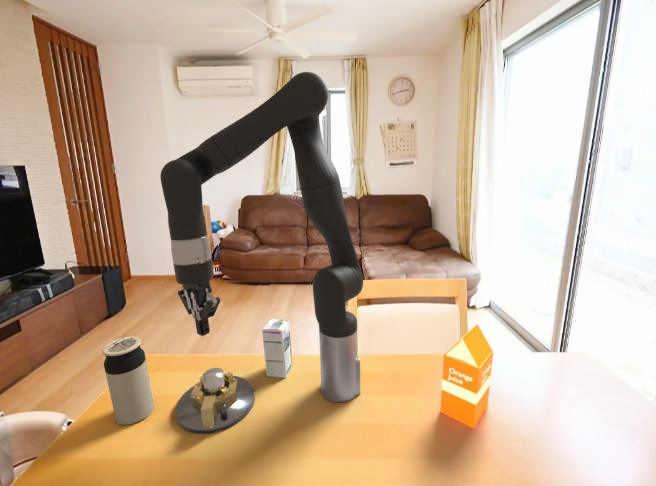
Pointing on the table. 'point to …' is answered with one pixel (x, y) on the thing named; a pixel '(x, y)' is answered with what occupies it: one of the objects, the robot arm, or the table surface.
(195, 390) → the ring nut
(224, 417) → the cap plate
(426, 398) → the table surface
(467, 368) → the orange juice
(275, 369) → the syrup box
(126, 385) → the travel mug
